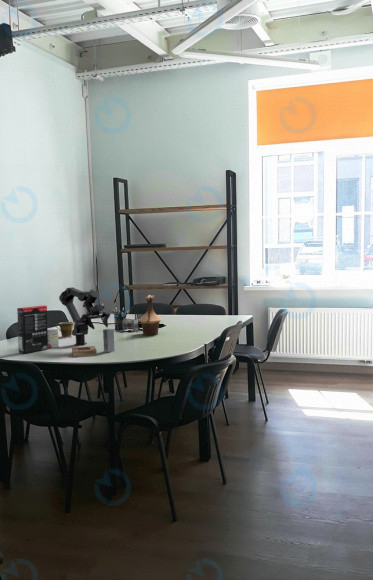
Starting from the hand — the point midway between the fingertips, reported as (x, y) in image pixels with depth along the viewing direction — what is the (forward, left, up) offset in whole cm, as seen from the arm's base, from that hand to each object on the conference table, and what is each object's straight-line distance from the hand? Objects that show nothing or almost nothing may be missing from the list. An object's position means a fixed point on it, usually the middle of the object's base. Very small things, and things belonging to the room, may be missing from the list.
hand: (100, 328), depth 300 cm
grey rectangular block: (+5, +6, -13) cm, 15 cm away
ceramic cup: (-48, -40, -13) cm, 64 cm away
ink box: (-10, -35, -13) cm, 39 cm away
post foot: (+12, -7, -13) cm, 19 cm away
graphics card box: (+3, -41, -13) cm, 43 cm away
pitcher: (-55, +20, -13) cm, 60 cm away
